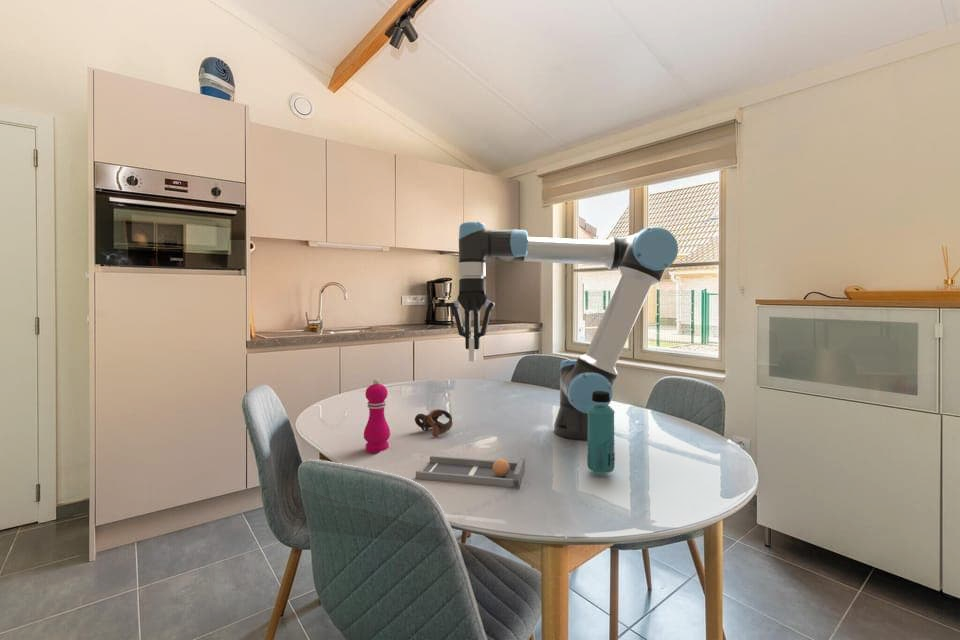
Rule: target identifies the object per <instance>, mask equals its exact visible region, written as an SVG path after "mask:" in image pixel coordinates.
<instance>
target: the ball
mask: <svg viewBox="0 0 960 640" xmlns="http://www.w3.org/2000/svg"><path fill="white" fill-rule="evenodd" d="M494 461H495V462H494V464H493V472H494V473H495V474H496V475H497V476H499V477H503V476H506V475H507V474H508V472H509V470H510V466H509V463H508V462H509V461H508V460H506V459H504V458H498V459H496V460H494Z"/></svg>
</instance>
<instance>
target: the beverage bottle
mask: <svg viewBox="0 0 960 640" xmlns="http://www.w3.org/2000/svg"><path fill="white" fill-rule="evenodd" d="M592 401H595V402H610V396H609V393H608V392H605V391H594V392H593V395H592ZM610 403H611V402H610ZM615 413H616V412H615V410H614V409H613V407H612V406H610V405H603V404H595V405H592V406H591V407H590V408H589V409H588V436H587V439H586V461H587V462H586V464H587V468H588V469H589V471H591V472H594V473H599V474H608V473H609V474H610V473H612V472H614V469H615V464H616V463H615V460H616V458H615V457H616V455H615V449H616V448H615V433H616V432H615Z"/></svg>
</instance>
